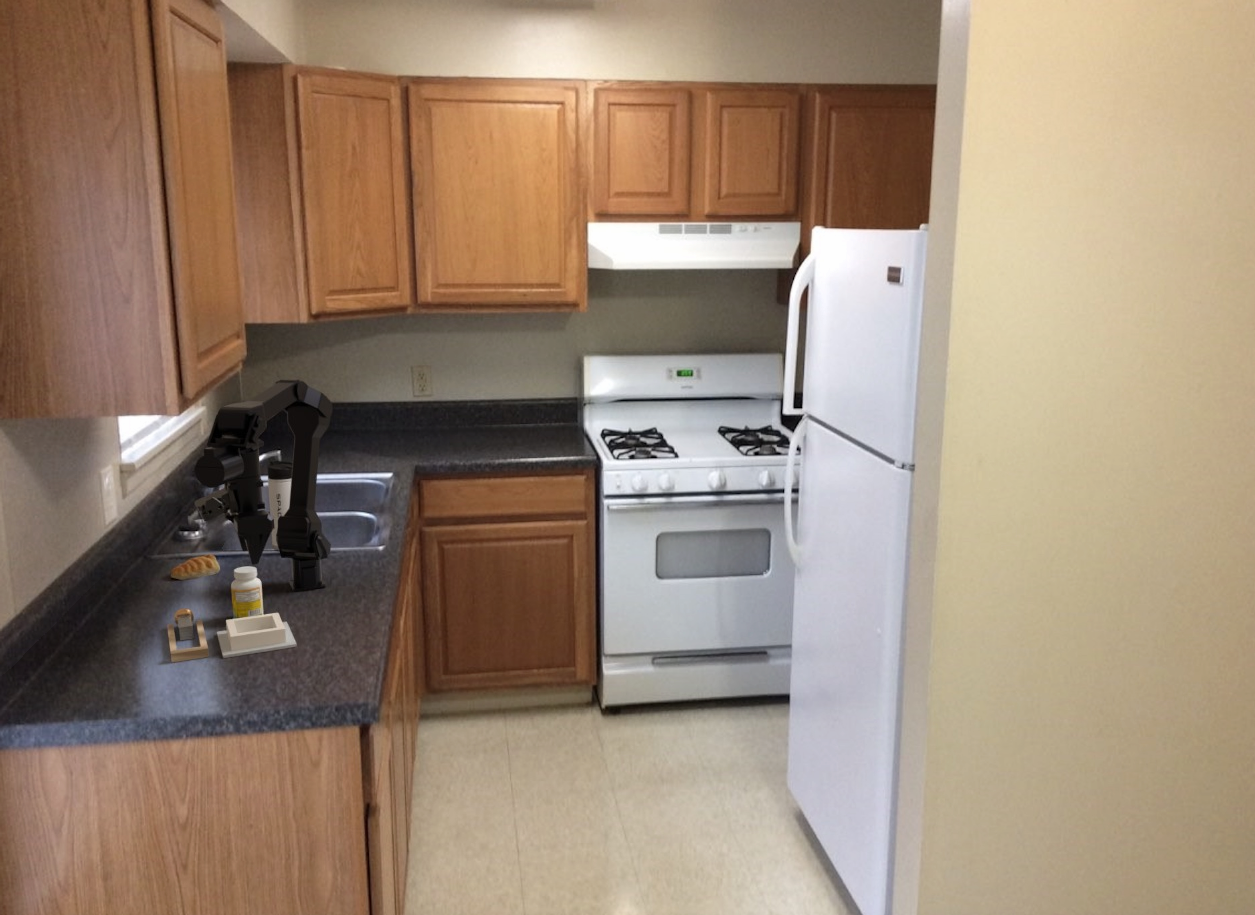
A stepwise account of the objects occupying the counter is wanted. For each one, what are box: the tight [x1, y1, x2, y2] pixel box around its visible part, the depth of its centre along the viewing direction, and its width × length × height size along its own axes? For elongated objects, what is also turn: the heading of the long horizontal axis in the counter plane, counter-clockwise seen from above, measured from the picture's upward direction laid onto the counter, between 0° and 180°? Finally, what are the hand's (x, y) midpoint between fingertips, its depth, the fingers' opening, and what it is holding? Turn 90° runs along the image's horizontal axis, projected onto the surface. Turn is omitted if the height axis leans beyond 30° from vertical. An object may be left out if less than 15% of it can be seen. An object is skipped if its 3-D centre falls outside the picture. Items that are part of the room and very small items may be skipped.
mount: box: [166, 619, 210, 663], centre depth 180 cm, size 16×6×2 cm, turn 26°
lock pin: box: [173, 608, 195, 641], centre depth 185 cm, size 8×3×3 cm, turn 26°
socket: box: [216, 612, 298, 659], centre depth 181 cm, size 12×12×3 cm
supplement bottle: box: [230, 565, 264, 619], centre depth 191 cm, size 5×5×10 cm
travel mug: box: [266, 459, 293, 551], centre depth 235 cm, size 6×7×20 cm
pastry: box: [170, 553, 221, 581], centre depth 217 cm, size 9×7×4 cm
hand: (250, 557), depth 189 cm, fingers open, 9 cm apart
